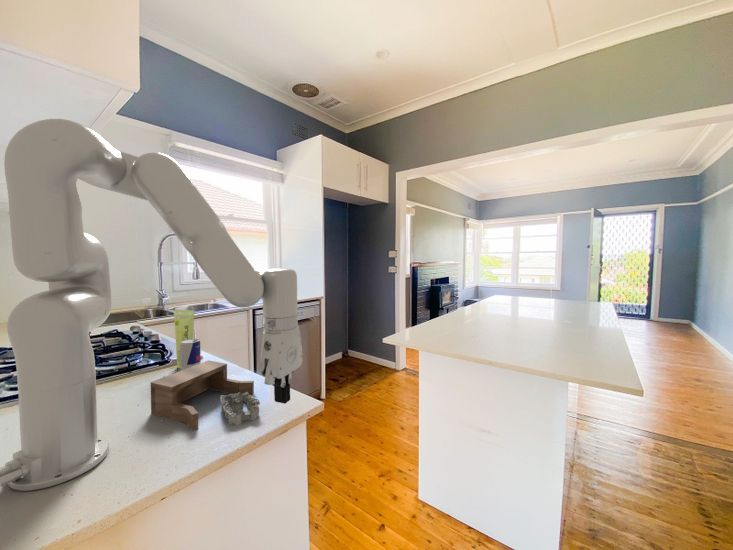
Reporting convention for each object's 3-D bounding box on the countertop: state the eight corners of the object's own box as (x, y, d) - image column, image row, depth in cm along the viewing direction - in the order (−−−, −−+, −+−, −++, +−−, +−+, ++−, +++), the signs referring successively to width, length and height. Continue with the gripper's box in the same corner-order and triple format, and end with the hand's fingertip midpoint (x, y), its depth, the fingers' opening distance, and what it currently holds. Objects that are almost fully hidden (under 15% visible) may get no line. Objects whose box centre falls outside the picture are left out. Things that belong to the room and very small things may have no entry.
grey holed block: (261, 419, 71) (261, 402, 70) (227, 429, 66) (227, 411, 66) (250, 400, 79) (250, 385, 79) (219, 408, 75) (219, 392, 75)
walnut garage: (193, 430, 65) (193, 396, 64) (144, 416, 70) (143, 384, 70) (255, 393, 83) (255, 366, 83) (212, 384, 88) (212, 358, 88)
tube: (175, 370, 98) (174, 311, 97) (174, 365, 102) (173, 309, 101) (194, 367, 101) (194, 310, 100) (193, 362, 105) (192, 308, 104)
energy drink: (203, 379, 92) (202, 340, 91) (183, 384, 88) (183, 344, 87) (197, 374, 95) (196, 337, 95) (178, 379, 91) (177, 340, 91)
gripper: (274, 332, 59) (276, 421, 61) (312, 317, 73) (313, 389, 75) (243, 329, 62) (246, 414, 63) (286, 315, 76) (287, 385, 77)
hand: (282, 400), depth 69 cm, fingers closed
